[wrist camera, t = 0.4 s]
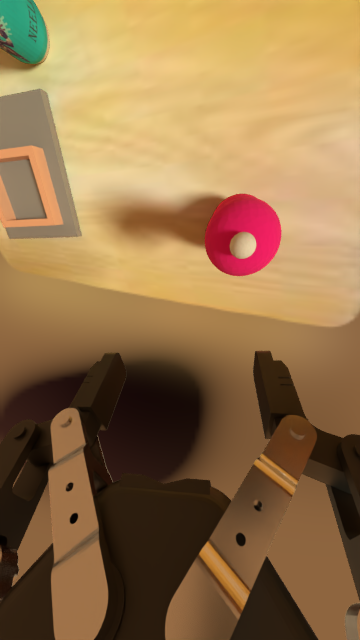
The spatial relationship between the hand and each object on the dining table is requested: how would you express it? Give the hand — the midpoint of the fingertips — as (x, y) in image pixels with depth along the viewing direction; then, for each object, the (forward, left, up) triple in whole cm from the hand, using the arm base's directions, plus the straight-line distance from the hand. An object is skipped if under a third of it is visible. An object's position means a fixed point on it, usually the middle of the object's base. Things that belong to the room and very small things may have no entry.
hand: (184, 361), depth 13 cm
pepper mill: (-6, +3, -26) cm, 26 cm away
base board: (-14, -30, -25) cm, 41 cm away
